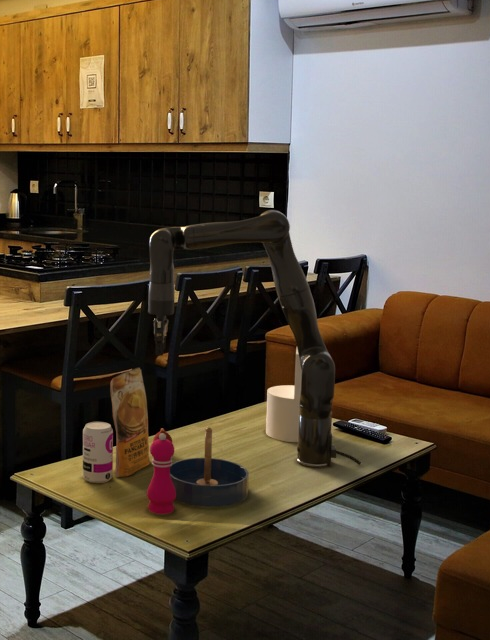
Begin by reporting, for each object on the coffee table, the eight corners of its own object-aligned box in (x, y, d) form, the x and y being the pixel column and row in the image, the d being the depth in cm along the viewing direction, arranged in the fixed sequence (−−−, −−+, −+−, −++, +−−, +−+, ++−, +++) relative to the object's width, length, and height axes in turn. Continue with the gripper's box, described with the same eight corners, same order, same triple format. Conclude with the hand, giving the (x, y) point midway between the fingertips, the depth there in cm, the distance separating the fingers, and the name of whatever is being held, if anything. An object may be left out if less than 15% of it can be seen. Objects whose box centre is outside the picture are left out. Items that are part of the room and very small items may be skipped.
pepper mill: (144, 505, 222) (146, 429, 220) (173, 505, 223) (174, 428, 220) (148, 517, 215) (149, 438, 213) (177, 516, 216) (179, 437, 213)
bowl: (247, 481, 241) (247, 460, 240) (248, 511, 220) (249, 488, 219) (169, 476, 243) (169, 455, 243) (163, 506, 222) (164, 483, 222)
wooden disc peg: (218, 487, 234) (219, 424, 232) (217, 495, 228) (219, 431, 226) (196, 486, 235) (198, 423, 232) (196, 494, 229) (197, 430, 227)
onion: (172, 451, 264) (173, 426, 263) (171, 458, 259) (172, 431, 258) (153, 451, 265) (153, 425, 264) (152, 457, 259) (152, 430, 258)
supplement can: (116, 475, 244) (117, 422, 242) (106, 485, 236) (107, 431, 234) (89, 471, 246) (89, 419, 245) (78, 481, 239) (78, 428, 237)
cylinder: (320, 428, 290) (324, 344, 286) (320, 444, 273) (324, 355, 269) (267, 424, 293) (270, 341, 290) (264, 439, 277) (267, 352, 273)
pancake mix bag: (101, 476, 243) (101, 377, 240) (138, 457, 259) (139, 364, 255) (121, 481, 239) (122, 380, 236) (158, 462, 255) (159, 367, 251)
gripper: (172, 301, 248) (171, 358, 250) (175, 294, 262) (174, 347, 264) (146, 300, 249) (145, 357, 251) (150, 293, 263) (149, 346, 265)
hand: (160, 352), depth 258 cm, fingers open, 8 cm apart
